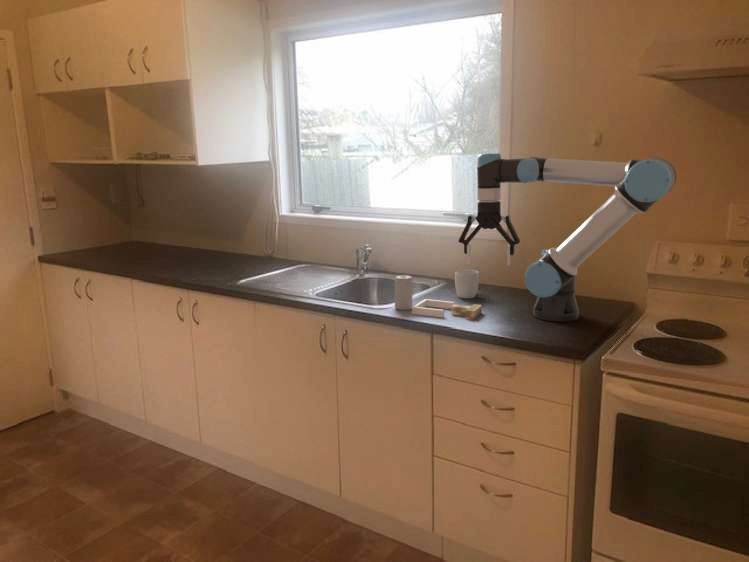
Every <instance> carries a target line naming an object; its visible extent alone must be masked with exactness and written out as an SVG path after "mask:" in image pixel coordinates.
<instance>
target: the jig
mask: <svg viewBox="0 0 749 562" xmlns="http://www.w3.org/2000/svg"><path fill="white" fill-rule="evenodd" d="M454 304H455V305H456V302H455V301H447V300H438V299H429V298H428V299H426V298H424V299H423V300H421V301H419V302H418V303H416V304H415V305H412V308H411V309H412V311H411V313H412V315H418V316H426V317H435V318H436V317H437V318H444V317H445V310H446V309H447V310H452V306H453V305H454Z"/></svg>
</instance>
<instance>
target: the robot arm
mask: <svg viewBox="0 0 749 562" xmlns="http://www.w3.org/2000/svg"><path fill="white" fill-rule="evenodd" d="M476 171H477V173H476V175H477V200H478V202H477V213H476V214H477V215H472V214H471V215H468V217H467V223H466V224H465V226H464V229H463V231H462V232H461V235H460V237H459V239H458V243H460V244H463V253H464V254H465V255H466V264H467V265H470V264H471V263H472V243H470V242H471V241H472V240H473V239H474V237H475V236H476V235H477V234H478V233H479V232H480V230H481V229H483V230H494V229H495V230H497V232H498V233H500V235H501V236H502V237H503V238H504V240H505V241H506V242H507V243H508V245H507V246H506V250H507V251H506V252H507V255H506V260H507V263H506V264H507V265H506V266H511V265H512V256H514V254H515V246H516V245H518V244H520V243H521V239H520V238H519V236H518V234H517V231H516V230H515V228H514V227H515V226H514V225H513V223H512V221H511V216H510V215H509V214H508V215H505V216H504V215H503V216H502V213H501V205H502V203H501V201H500V200H501V195H502V194H501V183H505V184H506V183H509V184H510V183H513V184H514V183H518V184H519V183H523V184H528V183H535V182H550V183H562V184H565V183H566V184H576V185H577V184H578V185H589V186H590V185H592V186H601V187H603V186H604V187H614V193H613V194H612V195H611V196H609V198H608V199H606V201H605V202H604V203H602V205H600V207H598V208H597V209H596V210H595V211H594V212H593V213H592V214H591V215H590V216H589V217H588V218H587V219H586V220H585V221H584V222H583V223H582V224H581V225H580V226H578V228H576V230H575V231H573V232H572V234H570V235H569V236H568V237H567V238H566V239H565V240H564V241H563V242H561V243H560V245H559V246H557V247H550V248H549V249H543V250H541V254H540V258H539V259H537V260H536V261H535V262H533V263H530V265H528V267H527V269H526V271H525V273H524V283H525V286H526V288H527V289H528V290H529V292H530V293H531V294H532V295H534V296H536V297H537V298H536V301H535V303H534V306H533V312H532V313H533V314H532V315H533V317H535V318H537V319H540V320H543V321H549V322H571V321H577V319H579V316H580V315H579V314H580V310H579V306H578V302H577V299H576V296H575V293H576V292H575V291H576V279H577V275H578V267H579V266H580V265H581V264H583V262H584V261H586V260H588V258H589V257H590V256H592V254H593V253H595V251H597V250H598V249H599V248H601V246H602V245H603V244H605V242H606V241H608V240H609V239H610V238H611V237H612V236H613V235H614V234H615V233H616V232H618V231H619V230H620V229H621V228H622V227H623V226H624V225H626V223H627V222H628V221H630V219H632V218H633V217H634V216H635V215H636V214H645V213H646V212H647V211H648V210H649V209H651V207H653V206H654V204H656V203H657V202H658V201H659V200H660V199H662V198H663V197H665V196H666V195H667V194H668V193H669V192H670V191H671V190H673V188H674V187H675V185H676V182H677V172H676V169H675V166H673V165H672V163H671V162H669V161H668V160H666V159H663V158H659V157H658V158H657V157H655V158H644V159H630V160H629V161H628V162H621V161H620V162H619V161H601V160H584V159H583V160H580V159H564V158H563V159H562V158H561V159H560V158H541V157H537V156H530V157H525V158H523V157H521V158H510V159H509V158H508V159H507V158H506V159H505V158H502V156H501V154H500V153H499V152H498V153H497V152H496V153H480V154H479V155H478V156H477V167H476ZM475 221H476V222H477V223H478V225H477V226H476V227H475V228H474V230H473V231H471V233H470V234H469V236H468V237H467V235H468V233H469V231H470V228H471V227H472V224H473V223H474V222H475ZM502 221H503V223H505V224H506V227H507V229H508V231H509V233H510V235H511V236H510V235H509V234H508V233H507V232H506V230H505V229H504V228H503V226H502V225H501V224H500V222H502ZM466 237H467V238H466ZM511 237H512V238H511Z"/></svg>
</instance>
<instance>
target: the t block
mask: <svg viewBox="0 0 749 562" xmlns="http://www.w3.org/2000/svg"><path fill="white" fill-rule="evenodd" d="M482 307H483V306H482V304H475V303H473V304H472V305H462V304H456V303H455V304H454V305H453V306H452V309H451V315H453V316H462V317H465V319H466V320H472V321H473V320H475V319H476V318H478V317H479V316H480V315H481V314H482V310H483V309H482Z"/></svg>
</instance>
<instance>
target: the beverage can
mask: <svg viewBox="0 0 749 562" xmlns="http://www.w3.org/2000/svg"><path fill="white" fill-rule="evenodd" d="M413 282H414V281H413V279H412V276H411V275H403V274H402V275H397V276H395V279H394V308H395V309H397V310H398V311H401V310H403V312H404V311H406V312H407V311H409V310H411V309H412V307H413Z"/></svg>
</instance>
